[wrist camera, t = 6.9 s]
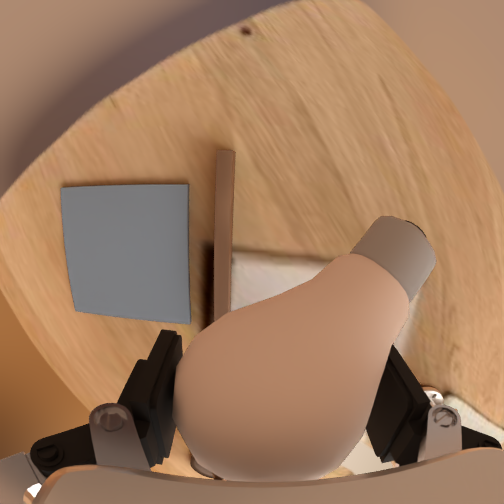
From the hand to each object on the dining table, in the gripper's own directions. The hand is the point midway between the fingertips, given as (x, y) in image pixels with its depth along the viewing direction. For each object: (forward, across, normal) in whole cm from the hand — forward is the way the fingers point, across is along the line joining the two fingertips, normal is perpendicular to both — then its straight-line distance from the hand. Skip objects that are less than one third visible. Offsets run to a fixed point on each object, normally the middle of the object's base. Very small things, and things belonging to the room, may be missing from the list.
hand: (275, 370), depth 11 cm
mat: (+18, +14, +2) cm, 23 cm away
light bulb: (+2, -1, -2) cm, 3 cm away
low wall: (+18, +3, +1) cm, 18 cm away
